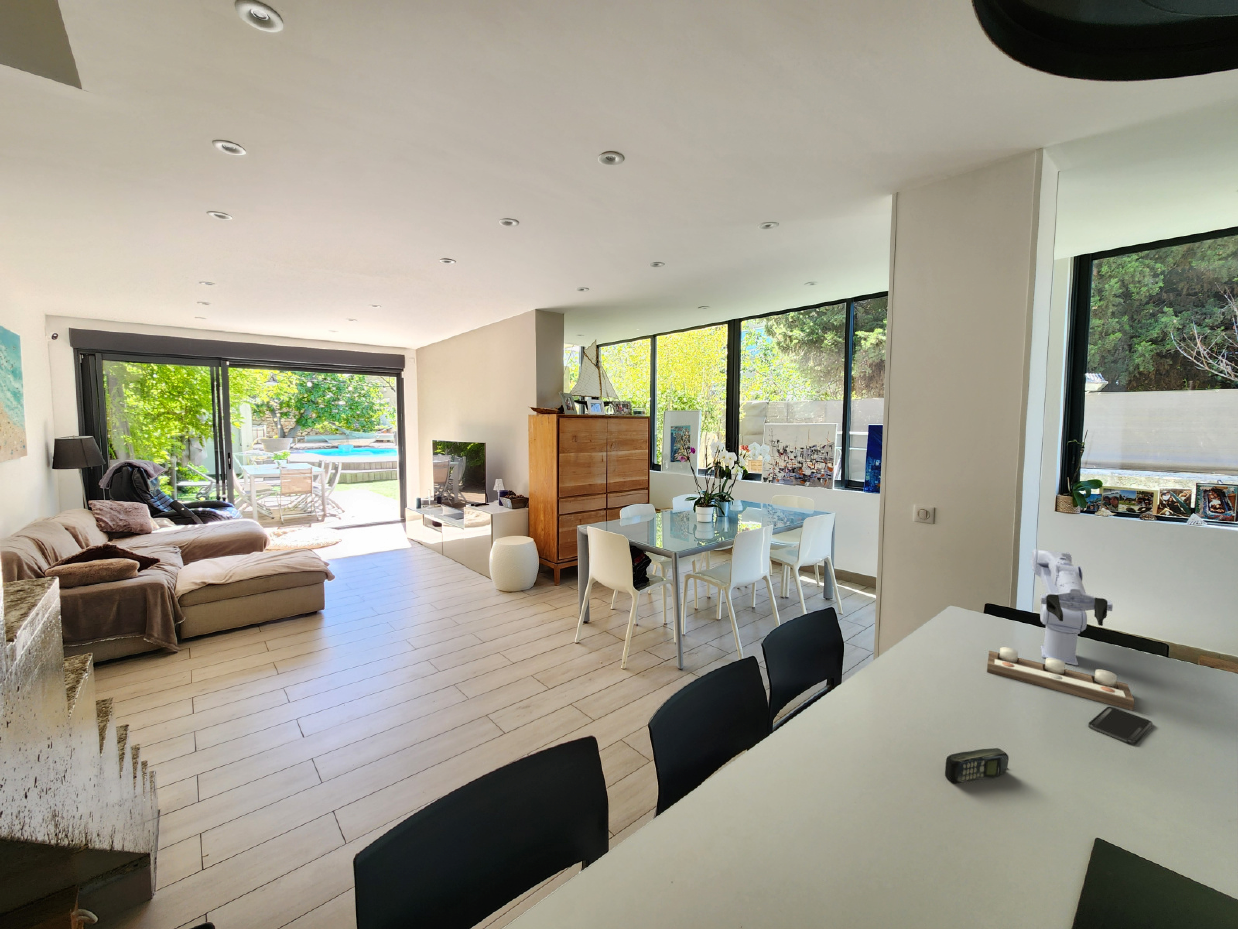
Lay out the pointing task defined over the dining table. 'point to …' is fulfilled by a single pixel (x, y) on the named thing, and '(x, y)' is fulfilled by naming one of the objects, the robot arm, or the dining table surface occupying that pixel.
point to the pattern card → (1060, 678)
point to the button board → (1061, 686)
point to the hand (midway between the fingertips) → (1080, 620)
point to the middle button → (1055, 665)
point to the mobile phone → (976, 765)
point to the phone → (1120, 725)
